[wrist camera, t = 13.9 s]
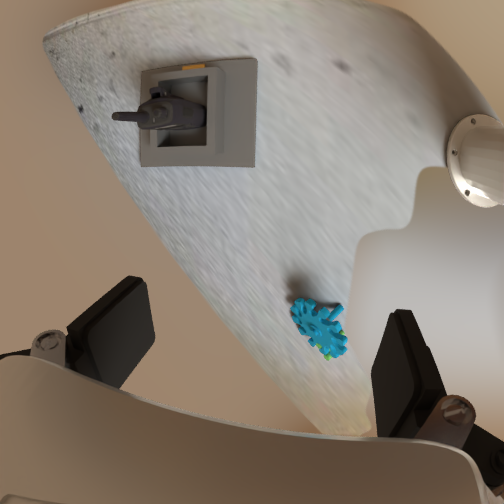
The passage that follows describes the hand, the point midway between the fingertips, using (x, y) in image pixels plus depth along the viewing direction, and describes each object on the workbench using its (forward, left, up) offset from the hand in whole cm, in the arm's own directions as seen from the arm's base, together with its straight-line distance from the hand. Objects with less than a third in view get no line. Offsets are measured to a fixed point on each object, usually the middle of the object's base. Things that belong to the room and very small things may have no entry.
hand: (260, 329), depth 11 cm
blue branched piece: (-4, +18, -29) cm, 34 cm away
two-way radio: (+14, -10, -27) cm, 32 cm away
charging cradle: (+14, -10, -28) cm, 33 cm away
